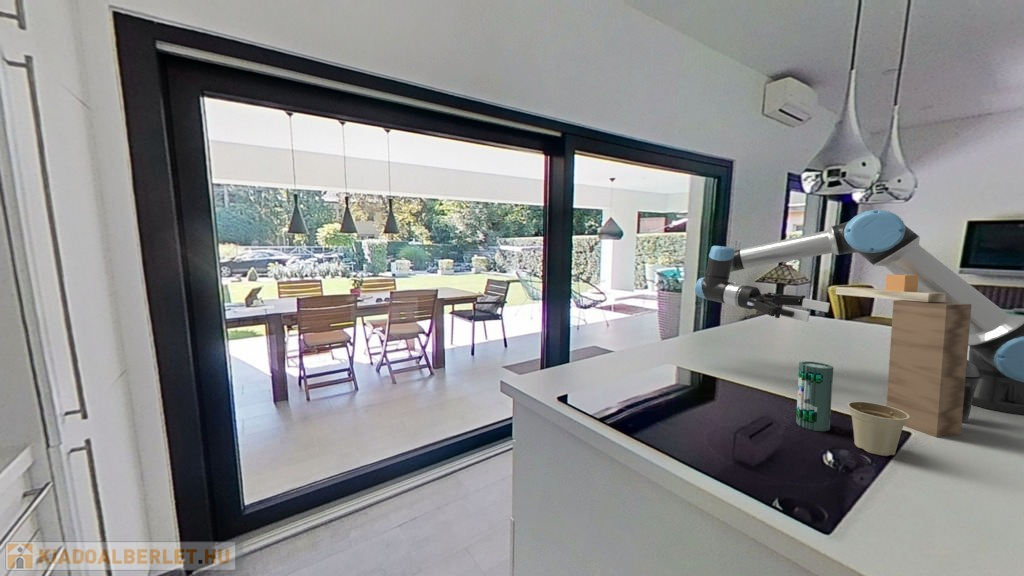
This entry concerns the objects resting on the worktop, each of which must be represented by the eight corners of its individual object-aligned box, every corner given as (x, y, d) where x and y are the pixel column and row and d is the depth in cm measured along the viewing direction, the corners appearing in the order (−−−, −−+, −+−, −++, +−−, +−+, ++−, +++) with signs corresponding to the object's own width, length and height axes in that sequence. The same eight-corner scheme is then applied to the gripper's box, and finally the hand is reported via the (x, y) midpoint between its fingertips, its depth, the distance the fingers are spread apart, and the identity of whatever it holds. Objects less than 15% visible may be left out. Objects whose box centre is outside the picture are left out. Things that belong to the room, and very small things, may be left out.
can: (792, 419, 95) (795, 360, 94) (820, 421, 93) (824, 362, 92) (803, 429, 89) (807, 367, 88) (834, 432, 87) (838, 369, 86)
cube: (898, 290, 96) (899, 274, 96) (917, 291, 92) (918, 275, 92) (885, 290, 95) (886, 274, 95) (904, 291, 91) (905, 275, 91)
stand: (908, 416, 96) (916, 299, 93) (960, 434, 86) (971, 304, 84) (885, 418, 94) (893, 300, 92) (936, 437, 85) (946, 305, 82)
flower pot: (920, 463, 74) (923, 420, 73) (864, 458, 76) (867, 417, 75) (883, 440, 83) (886, 402, 82) (834, 437, 85) (836, 400, 84)
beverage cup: (943, 422, 92) (949, 342, 91) (924, 411, 99) (930, 336, 97) (984, 427, 89) (992, 344, 88) (962, 415, 96) (969, 338, 95)
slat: (850, 293, 108) (850, 286, 108) (945, 301, 87) (945, 293, 87) (835, 294, 107) (836, 287, 107) (928, 302, 86) (928, 293, 86)
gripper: (722, 291, 118) (801, 307, 101) (762, 279, 131) (838, 292, 114) (720, 314, 120) (796, 334, 103) (759, 300, 133) (833, 315, 115)
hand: (819, 312), depth 108 cm, fingers open, 13 cm apart
